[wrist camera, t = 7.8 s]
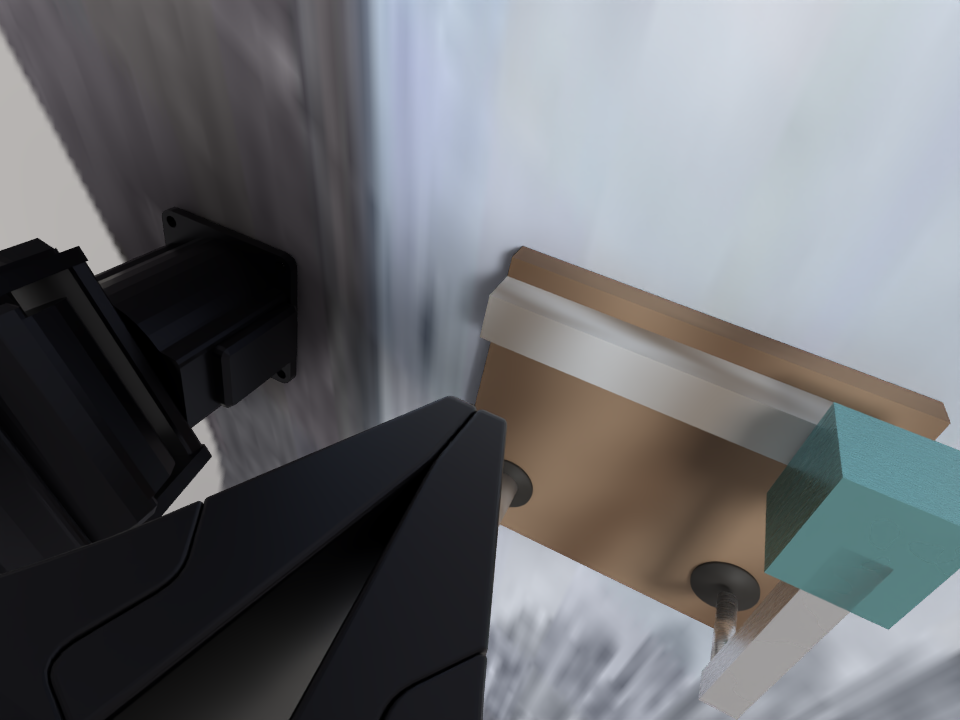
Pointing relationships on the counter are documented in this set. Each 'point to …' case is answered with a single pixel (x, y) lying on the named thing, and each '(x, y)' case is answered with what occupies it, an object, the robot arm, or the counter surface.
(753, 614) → the leg
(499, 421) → the robot arm
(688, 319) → the plate
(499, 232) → the counter surface
